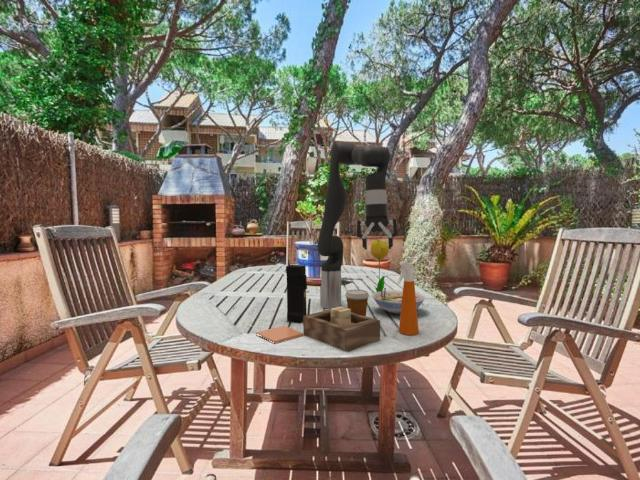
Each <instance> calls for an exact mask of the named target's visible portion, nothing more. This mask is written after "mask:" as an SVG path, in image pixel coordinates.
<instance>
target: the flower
mask: <svg viewBox="0 0 640 480" xmlns="http://www.w3.org/2000/svg"><path fill="white" fill-rule="evenodd" d="M389 250H390V249H389V244H388V241H387V240H385V241H383V240H380V239H379V240H375V239H374V240H372V241H371V244H370V254H371V256H373V257H374V258H375V259H377V260H378V282H377V287H376V286H375V285H373V287H374V289H375V291H376V292H380V291H381V288H382V291H384V288H385V278H386V275H383V276H382V277H381V275H380V274H381V271H380V270H381V260H384V259H385V258H386V257H387V256H388V254H389V252H390V251H389Z"/></svg>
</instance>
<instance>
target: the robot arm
mask: <svg viewBox="0 0 640 480" xmlns="http://www.w3.org/2000/svg"><path fill="white" fill-rule="evenodd" d="M390 160H391V153H390V151H389V149H388V147H385V146H375V145H374V146H372V145H369V146H367V145H357V144H354V143H352V142H346V141H341V140H336V141H333V144H332V146H331V151H330V163H329V174H328V181H327V189H326V195H325V199H324V200H325V201H324V210H323V217H322V221H321V222H322V223H321V226H320V231H319V235H318V238H317V239H318V240H317V252H318V254H319V255H320V256H321V257H328V258H327V259H326V260H325V261H324V262H323V263H321V265H320V266H321V269H320V271H321V279H320V280H321V285H320V286H319V289H320V290H319V294H320V295H319V299H320V302H319V303H320V304H319V305H320V306H321V308H323V309H327V310H330V309H332V308H336V307H342V266H343V261H344V242H343V239H342V238H341V237H340V236H339V235H334V231H335V227H336V225H337V224H338V222H339V220H340V218H341V217H342V216H343V214H344V212H345V210H346V203H347V197H348V195H347V190H346V187H345V186H344V183H343V181H342V179H341V176H340V164H341V165H349V166H350V165H355V164H358V165H361V166H362V167H365V168H377V171H376V172H372V173H368V174H367V175H366V176H365V200H364V201H365V202H364V203H365V220H357V221H356V222H357V223H356V237H357V238H360V239H361V241H362V243H361V244H362V248H363V250H368V238H367V237H368V235H369V234H370V233H371V232H372V233H377V232H378V233H382V232H384V233H385V234H386V236H387V237H388V241H387V244H388V248H389V250H391V249H392V248H393V247H394V242H393V241H394V238H395V237H397V236H398V234H399V233H398V221H397V219H395V218H393V219H389V218H388V196H387V188H386V187H387V183H386V182H387V181H386V180H387V173H388V167H389V164H390ZM389 224H390V226H393V227H392V228H393V233H392V232H391V231H390V230H389V229H388V228H387V227H388V226H389ZM364 225H365V226H366V230H365V231H364V233H363V234H362V227H364Z"/></svg>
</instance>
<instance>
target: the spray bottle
mask: <svg viewBox="0 0 640 480" xmlns="http://www.w3.org/2000/svg"><path fill="white" fill-rule="evenodd" d="M399 266H400V274H399V277H398V281H397V282H396V284H397V285H399V284H401V282H402V280H403V285H402V289H403V290H402V291H403V295H402V305H401V314H399V325H398V326H399V327H398V333H400V334H401V333H402V335H406V336H415V335H418V334H419V333H420V331H419V320H418V310H417V309H418V308H417V307H416V296H415V292H416V290H415V289H416V285H415V275H414V272H415V270H416V267H415V266H414V265H413V264H411V263H410V262H407V261H402V260H401V261H399Z"/></svg>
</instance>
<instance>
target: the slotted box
mask: <svg viewBox="0 0 640 480" xmlns="http://www.w3.org/2000/svg"><path fill="white" fill-rule="evenodd" d="M302 324H303V327H302V328H303V330H302V331H303V332H302V333H303V336H307V337H309V338H310V339H314V340H316V341H318V342H320V343H323V342H324V344H326V343H327V345H329V344H330V345H329V346H331V345H332V347H334V346H335V347H334V348H336V347H337V348H336V349H339V348H340V349H339V350H341V349H342V351H344V350H345V351H344V352H346V351H348V352H350V350H351V351H353V350H356V349H358V348H361V346H362V347H364V346H367V345H370V344H372V343H374V342H375V343H376V342H378V341H380V340H381V320H380V319H376V318H373V317H370V316H367V315H366V316H363V315H359V314H356V313H352V312H351V325H349V326H346V327H343V326H340V325H337V324H334V323H331V309H327V310H323V311H317V312H314V313H310V314H307V315H305V316H303V322H302ZM369 343H370V344H369Z"/></svg>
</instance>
